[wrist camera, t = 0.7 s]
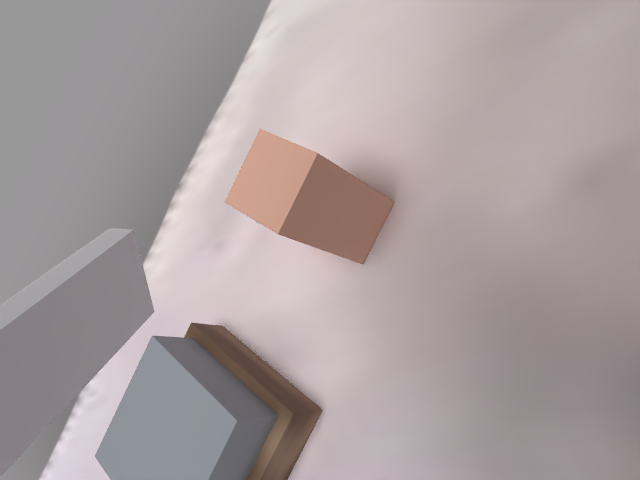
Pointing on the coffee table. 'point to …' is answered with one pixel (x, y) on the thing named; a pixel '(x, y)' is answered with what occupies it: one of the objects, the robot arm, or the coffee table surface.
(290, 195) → the terracotta tall block
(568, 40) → the coffee table surface
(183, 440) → the slate top block
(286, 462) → the walnut base block
